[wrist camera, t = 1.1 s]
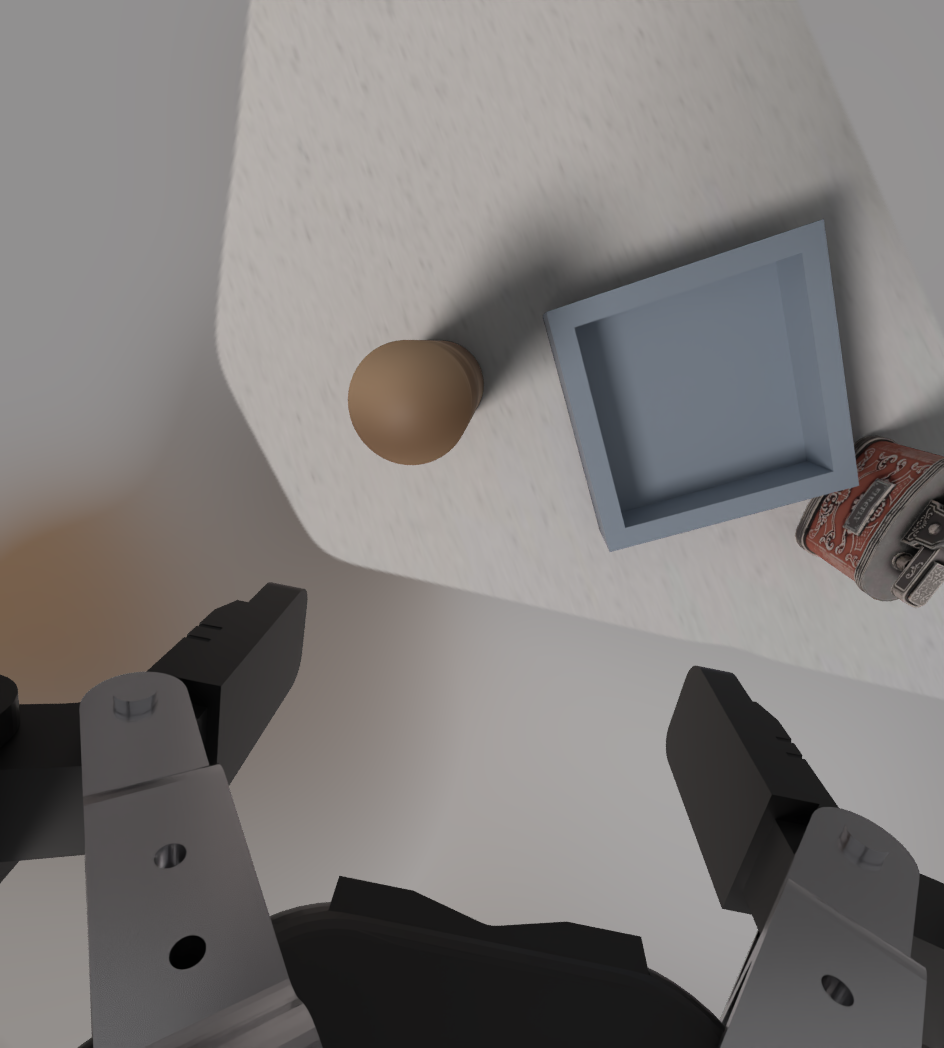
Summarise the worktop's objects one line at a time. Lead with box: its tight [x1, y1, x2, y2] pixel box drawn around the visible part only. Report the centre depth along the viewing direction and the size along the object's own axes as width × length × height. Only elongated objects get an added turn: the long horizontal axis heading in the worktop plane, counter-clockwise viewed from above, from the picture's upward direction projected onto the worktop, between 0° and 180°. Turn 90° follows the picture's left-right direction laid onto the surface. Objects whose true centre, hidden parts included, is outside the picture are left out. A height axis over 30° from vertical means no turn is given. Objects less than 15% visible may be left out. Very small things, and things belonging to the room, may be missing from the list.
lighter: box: [795, 436, 944, 608], centre depth 32 cm, size 8×3×10 cm, turn 155°
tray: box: [543, 219, 859, 552], centre depth 33 cm, size 14×14×4 cm
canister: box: [348, 340, 484, 465], centre depth 30 cm, size 5×5×12 cm
